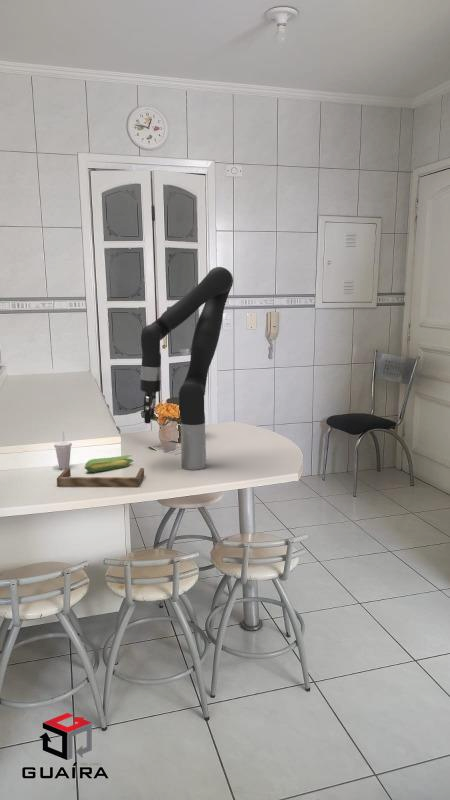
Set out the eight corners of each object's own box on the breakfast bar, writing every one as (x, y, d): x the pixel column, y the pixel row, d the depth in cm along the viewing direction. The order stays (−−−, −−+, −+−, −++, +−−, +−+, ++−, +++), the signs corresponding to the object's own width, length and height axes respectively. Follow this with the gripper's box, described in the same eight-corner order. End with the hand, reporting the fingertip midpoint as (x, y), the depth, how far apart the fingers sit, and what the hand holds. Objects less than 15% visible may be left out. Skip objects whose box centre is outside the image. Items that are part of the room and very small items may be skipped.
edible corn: (82, 460, 207) (85, 460, 203) (132, 453, 218) (136, 453, 214) (83, 474, 207) (87, 474, 203) (133, 467, 217) (138, 466, 214)
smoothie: (76, 466, 213) (74, 431, 211) (65, 471, 208) (63, 434, 205) (63, 464, 216) (61, 429, 213) (51, 469, 210) (49, 433, 208)
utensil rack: (144, 476, 202) (143, 468, 201) (138, 486, 191) (138, 478, 190) (67, 475, 202) (66, 467, 202) (57, 486, 191) (56, 478, 191)
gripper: (158, 381, 201) (156, 425, 204) (163, 376, 215) (161, 417, 218) (137, 380, 201) (136, 424, 204) (143, 375, 215) (142, 416, 218)
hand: (149, 420), depth 211 cm, fingers open, 8 cm apart
